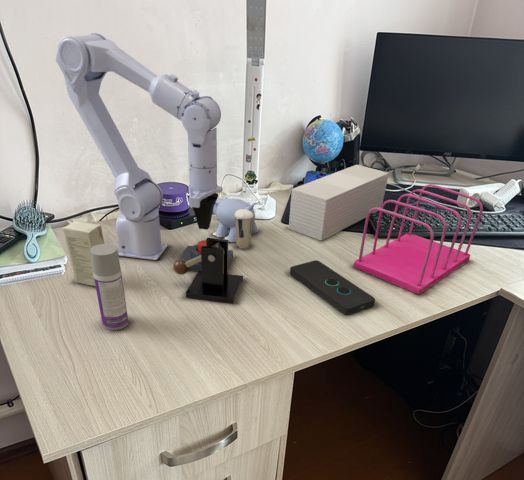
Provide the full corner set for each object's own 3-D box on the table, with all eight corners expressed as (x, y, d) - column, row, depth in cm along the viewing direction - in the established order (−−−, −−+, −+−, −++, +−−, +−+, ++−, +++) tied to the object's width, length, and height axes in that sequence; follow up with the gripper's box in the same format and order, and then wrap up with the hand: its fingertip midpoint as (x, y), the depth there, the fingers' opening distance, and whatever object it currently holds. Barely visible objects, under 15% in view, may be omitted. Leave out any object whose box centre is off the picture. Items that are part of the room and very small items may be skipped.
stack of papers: (321, 240, 125) (326, 199, 118) (288, 228, 130) (291, 188, 123) (381, 209, 145) (388, 172, 138) (351, 200, 150) (356, 164, 143)
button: (195, 253, 109) (195, 245, 108) (199, 246, 111) (199, 239, 110) (211, 254, 108) (211, 247, 107) (215, 248, 111) (215, 241, 110)
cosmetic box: (111, 279, 104) (103, 224, 96) (99, 288, 100) (90, 232, 93) (86, 273, 105) (75, 219, 98) (73, 282, 102) (61, 227, 94)
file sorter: (469, 261, 119) (490, 198, 110) (418, 296, 104) (438, 226, 95) (406, 238, 128) (421, 179, 119) (352, 267, 113) (364, 201, 104)
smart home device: (346, 308, 95) (288, 266, 108) (345, 316, 96) (287, 273, 109) (377, 298, 99) (317, 259, 112) (375, 305, 100) (316, 265, 113)
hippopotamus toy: (225, 218, 134) (225, 183, 128) (267, 234, 126) (269, 198, 121) (196, 228, 127) (195, 192, 121) (239, 246, 119) (240, 209, 114)
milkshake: (253, 251, 118) (254, 211, 112) (231, 248, 118) (232, 209, 112) (257, 244, 121) (258, 205, 115) (236, 241, 122) (236, 202, 116)
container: (104, 316, 92) (91, 243, 83) (130, 316, 93) (119, 243, 84) (100, 330, 88) (86, 255, 79) (126, 330, 89) (115, 255, 80)
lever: (176, 279, 101) (168, 266, 99) (181, 272, 103) (173, 259, 102) (222, 259, 96) (214, 245, 95) (226, 252, 99) (218, 239, 97)
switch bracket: (185, 297, 99) (183, 251, 93) (198, 275, 107) (197, 231, 101) (233, 303, 98) (234, 257, 92) (243, 280, 106) (244, 236, 100)
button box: (176, 268, 109) (175, 254, 107) (188, 251, 116) (187, 238, 114) (224, 274, 108) (224, 260, 105) (233, 257, 115) (233, 243, 113)
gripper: (213, 177, 92) (213, 243, 100) (229, 156, 104) (229, 217, 112) (177, 173, 93) (181, 239, 101) (197, 153, 104) (199, 214, 112)
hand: (204, 227), depth 106 cm, fingers closed
